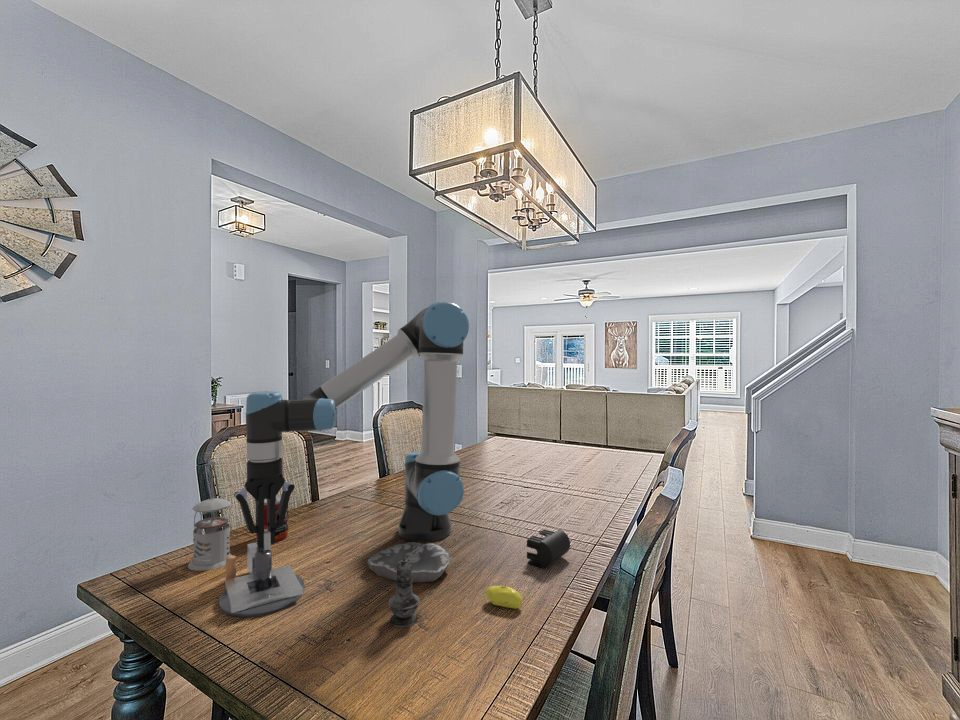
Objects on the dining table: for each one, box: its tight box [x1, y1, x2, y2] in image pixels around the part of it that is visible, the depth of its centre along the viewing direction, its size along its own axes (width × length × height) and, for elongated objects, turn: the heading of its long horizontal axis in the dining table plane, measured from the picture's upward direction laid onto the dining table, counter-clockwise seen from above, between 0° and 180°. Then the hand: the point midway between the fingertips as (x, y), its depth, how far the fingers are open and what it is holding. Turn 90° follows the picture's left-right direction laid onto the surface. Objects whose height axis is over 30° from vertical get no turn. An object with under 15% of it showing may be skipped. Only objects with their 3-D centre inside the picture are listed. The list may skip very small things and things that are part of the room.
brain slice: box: [367, 541, 453, 583], centre depth 108 cm, size 20×17×3 cm
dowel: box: [225, 555, 237, 580], centre depth 101 cm, size 2×2×6 cm
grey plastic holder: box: [224, 541, 304, 613], centre depth 98 cm, size 20×13×5 cm, turn 34°
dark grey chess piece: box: [388, 557, 421, 628], centre depth 87 cm, size 6×6×12 cm
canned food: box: [264, 494, 290, 543], centre depth 126 cm, size 8×8×11 cm
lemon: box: [484, 585, 524, 610], centre depth 92 cm, size 4×8×4 cm, turn 61°
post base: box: [218, 549, 305, 618], centre depth 95 cm, size 16×16×9 cm
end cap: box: [526, 529, 571, 570], centre depth 112 cm, size 10×7×7 cm
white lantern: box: [187, 459, 234, 572], centre depth 111 cm, size 10×12×25 cm
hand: (266, 559), depth 105 cm, fingers closed
